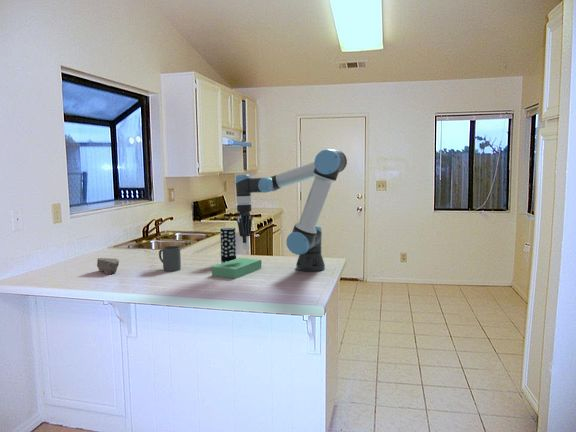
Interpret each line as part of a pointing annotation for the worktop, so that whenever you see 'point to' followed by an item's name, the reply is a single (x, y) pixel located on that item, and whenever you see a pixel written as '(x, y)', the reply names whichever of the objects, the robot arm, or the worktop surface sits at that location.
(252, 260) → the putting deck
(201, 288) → the worktop surface
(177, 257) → the mug
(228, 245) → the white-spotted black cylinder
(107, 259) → the stone
